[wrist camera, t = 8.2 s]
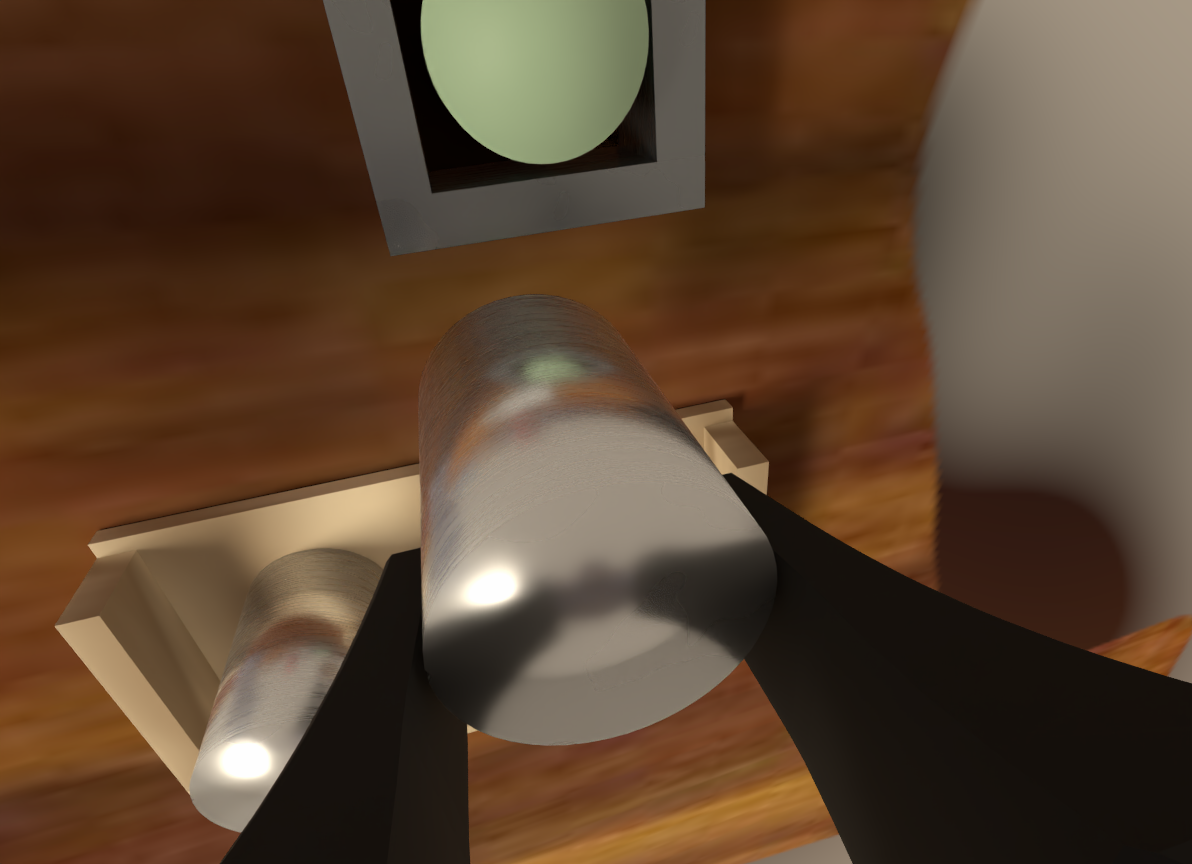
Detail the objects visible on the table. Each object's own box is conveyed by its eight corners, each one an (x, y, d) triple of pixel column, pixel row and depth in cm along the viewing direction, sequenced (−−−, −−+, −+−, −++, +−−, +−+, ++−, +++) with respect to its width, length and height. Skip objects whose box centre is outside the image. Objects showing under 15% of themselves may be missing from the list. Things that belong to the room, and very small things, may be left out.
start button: (442, 155, 14) (449, 177, 12) (397, -65, 12) (394, -100, 10) (610, 133, 15) (653, 150, 12) (595, -80, 13) (643, -115, 10)
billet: (467, 517, 14) (498, 785, 9) (378, 341, 11) (350, 575, 6) (655, 447, 14) (789, 669, 9) (609, 261, 11) (758, 425, 7)
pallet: (225, 722, 22) (201, 808, 20) (97, 531, 18) (43, 612, 15) (720, 591, 26) (755, 651, 23) (725, 399, 21) (770, 447, 18)
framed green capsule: (393, 224, 16) (390, 256, 13) (297, -152, 12) (267, -209, 9) (660, 185, 17) (704, 207, 14) (649, -170, 13) (706, -225, 10)
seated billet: (276, 664, 21) (234, 854, 16) (223, 568, 19) (154, 755, 14) (410, 630, 22) (410, 802, 17) (375, 534, 19) (362, 700, 14)
